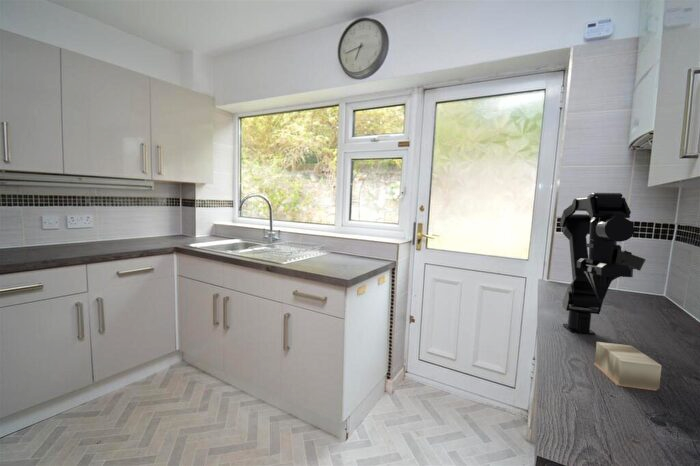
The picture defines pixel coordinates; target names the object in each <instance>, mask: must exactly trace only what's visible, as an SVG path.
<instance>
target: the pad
mask: <svg viewBox="0 0 700 466" xmlns="http://www.w3.org/2000/svg"><path fill="white" fill-rule="evenodd" d="M593 365H594V366H595V367H596V368H598V370H599V371H600V372H602V373H603V374H604V376H606V377H607V378H608V379H610V381H611V382H612V383H614V384H615V386H618V387H626V388H633V389H639V390H640V389H642V390H648V391H657V390H658V389H653V388H646V387H638V386H630V385H623V384H619V383H618V382H616V381H615V380H614V379H613V378H612V377H611V376H610V375H609V374H608V373H606V372H605V371H604V370H603V369H602V368H601V367H600V366H599V365H598V364H596V363H595V362H594V363H593ZM657 392H658V391H657Z"/></svg>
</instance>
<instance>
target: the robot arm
mask: <svg viewBox="0 0 700 466" xmlns="http://www.w3.org/2000/svg"><path fill="white" fill-rule="evenodd" d="M576 212H586V213H587V214H586V213H585V214H584V213H583V214H582V213H576ZM631 213H632V212H631V209H630V207H629V204H628V203H627V200H626V198H625V197H624V196H623V193H621V192H592V193H590V194H587V197H577V198H574V199H573V200H572V203H571V204H570V205H569V206H568V207H567V208H565V209H564V210H563V212H562V215H561V218H560V221H559V222H560V224H559V226H560V227H561V228H562V234H563V235H564V236H565V237H566V238H567V240H569V241H568V242H569V253H570V263H571V275H572V281H571V283H570V284H569V285H568V287H567V290H566V292H565V294H564V296H563V298H562V307H563V309H564V310H565V311H566V312H567V311H568V315H567V323H562V326H563V327H564V328H566V329H567V330H568V331H569V332H571V333H577V334H584V335H585V334H586V335H596V332H595V331H594V330H592V329H591V322H592V316H593V315H595V314H596V315H600V312H601V309H602V306H603V303H604V299H605V297H606V295H607V293H608V291H609V288H610V285H611V283H612V281H614V280H616V279H619V278H633V277H634V270H637V271H640V272H641V270H642V268H643V266H644V264H645V262H646V258H644V257H641V256H637V255H634V254H632V252H631V251H628V250H626V249H625V250H624V249H622V245H620V244H618V242H619V243H620V242H624V241H628V240H629V239H631V238H632V237H633V236H634V234H635V231H636V230H635V226H634V224H633V222H632V221H631V220H629V219H631ZM588 235H589V239H588V241H587V236H588ZM588 242H589V243H588ZM592 314H593V315H592Z"/></svg>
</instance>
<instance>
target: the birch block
mask: <svg viewBox="0 0 700 466" xmlns="http://www.w3.org/2000/svg"><path fill="white" fill-rule="evenodd" d="M595 346H596V347H595V356H594V357H595V358H594V363H596V364H598V365H599V366H600V367H601V368H602V369H603V370H604V371H605V372H606V373H608V374H609V375H610V376H611V377H612V378H613V379H614V380H615V381H616V382H618V383H619V384H623V385H630V386H638V387H646V388H653V389H657V390H660V384H661V376H662V365H661V364H660V363H659V362H657V361H655V360H654V359H652V358H651V357H650V356H648V355H646V354H645V353H644V352H642V351H640V350H638V349H637V348H635V347H634V346H632V345H629V344H622V343H621V344H620V343H612V342H611V343H610V342H602V341H596V345H595Z"/></svg>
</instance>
